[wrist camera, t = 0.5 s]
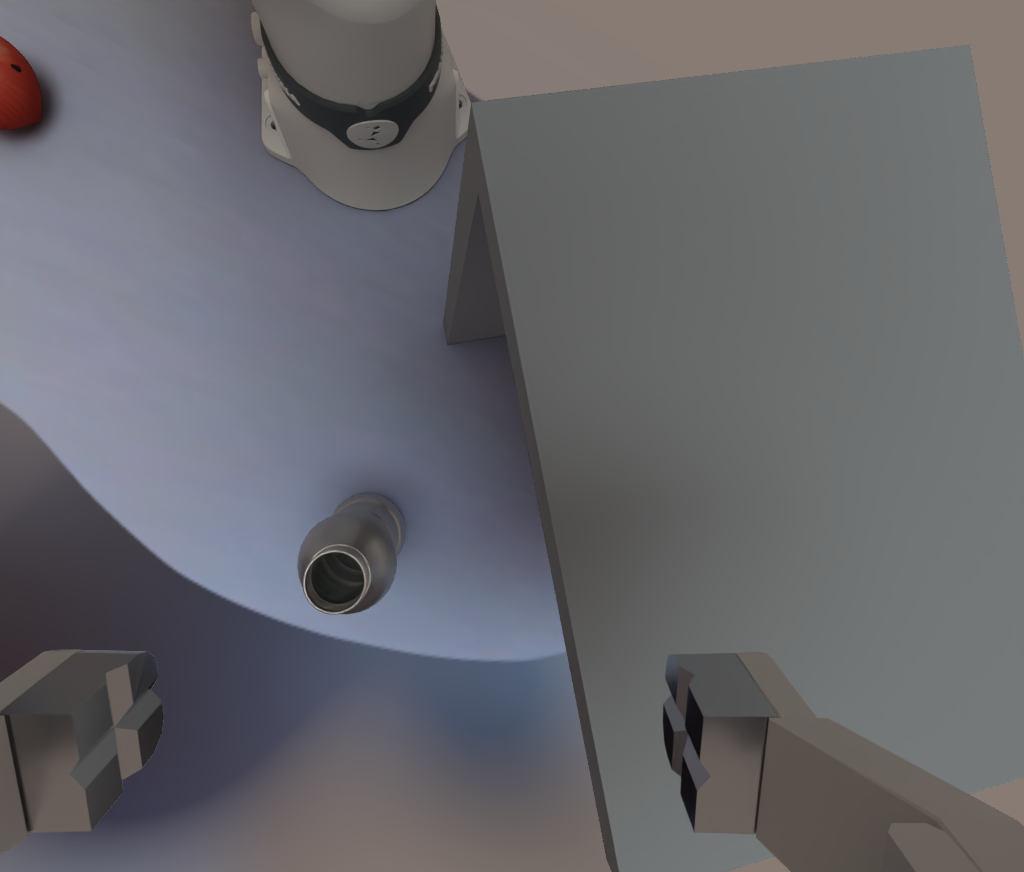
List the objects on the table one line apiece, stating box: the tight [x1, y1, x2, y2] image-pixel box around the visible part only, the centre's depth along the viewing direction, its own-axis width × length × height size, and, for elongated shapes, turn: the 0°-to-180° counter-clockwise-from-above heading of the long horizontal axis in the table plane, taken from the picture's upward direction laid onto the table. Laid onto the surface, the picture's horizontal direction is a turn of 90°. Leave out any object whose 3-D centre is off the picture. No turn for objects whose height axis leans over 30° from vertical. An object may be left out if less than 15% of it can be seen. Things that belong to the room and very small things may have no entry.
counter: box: [443, 45, 1024, 872], centre depth 38 cm, size 26×18×36 cm
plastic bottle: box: [297, 493, 405, 614], centre depth 43 cm, size 6×7×20 cm
